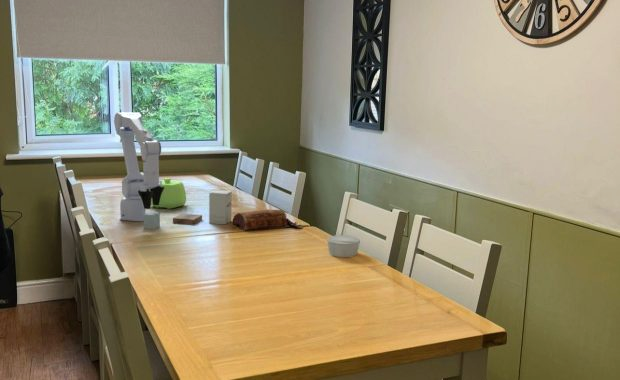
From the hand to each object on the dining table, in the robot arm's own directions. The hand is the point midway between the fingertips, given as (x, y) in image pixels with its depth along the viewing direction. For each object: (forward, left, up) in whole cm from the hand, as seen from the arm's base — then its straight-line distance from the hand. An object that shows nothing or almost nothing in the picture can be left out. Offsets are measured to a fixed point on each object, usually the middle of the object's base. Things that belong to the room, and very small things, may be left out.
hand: (151, 206), depth 230 cm
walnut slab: (+9, +14, -9) cm, 19 cm away
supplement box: (+22, +17, -8) cm, 29 cm away
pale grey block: (0, 0, -8) cm, 8 cm away
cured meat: (+43, +16, -9) cm, 47 cm away
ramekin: (+77, -16, -8) cm, 79 cm away
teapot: (-13, +40, -8) cm, 43 cm away
